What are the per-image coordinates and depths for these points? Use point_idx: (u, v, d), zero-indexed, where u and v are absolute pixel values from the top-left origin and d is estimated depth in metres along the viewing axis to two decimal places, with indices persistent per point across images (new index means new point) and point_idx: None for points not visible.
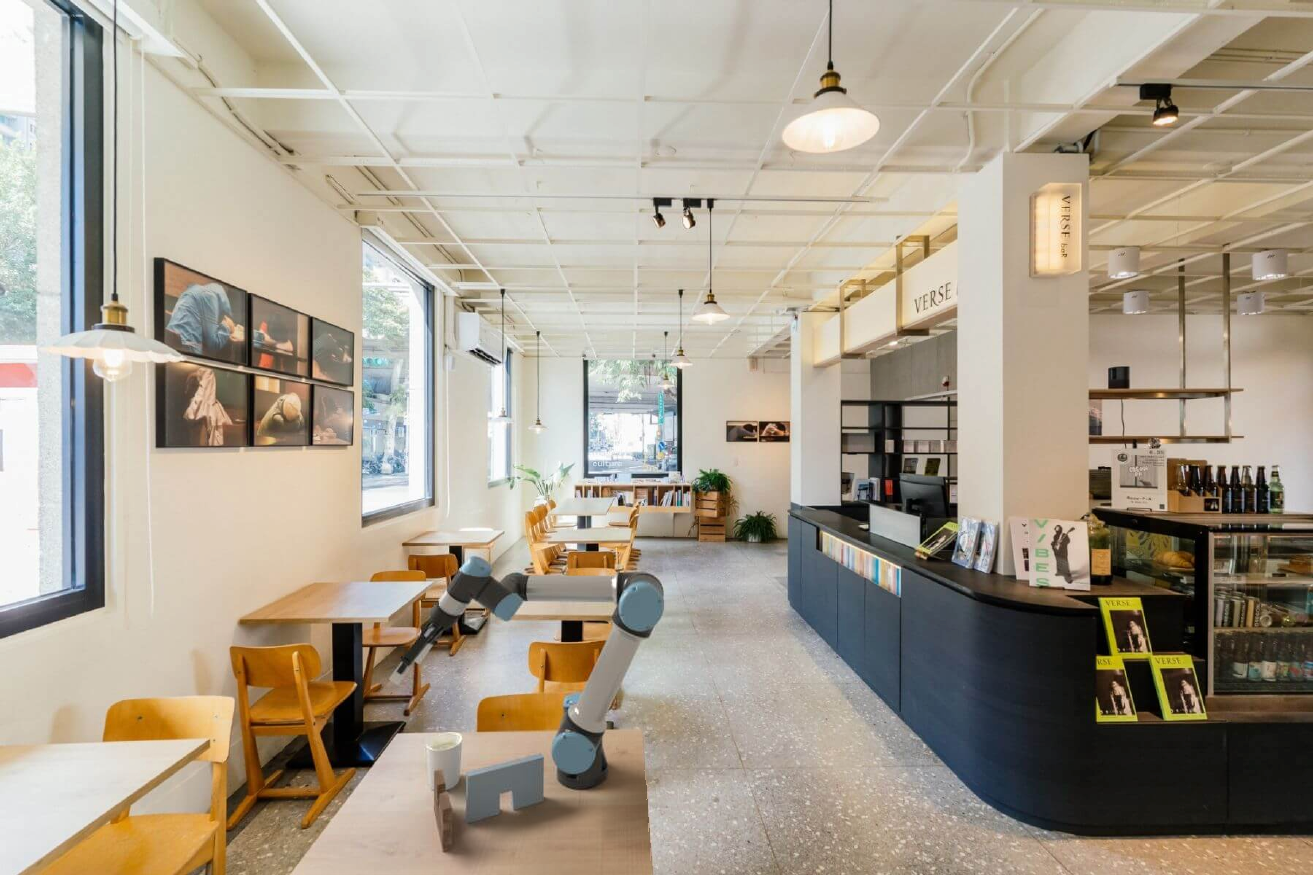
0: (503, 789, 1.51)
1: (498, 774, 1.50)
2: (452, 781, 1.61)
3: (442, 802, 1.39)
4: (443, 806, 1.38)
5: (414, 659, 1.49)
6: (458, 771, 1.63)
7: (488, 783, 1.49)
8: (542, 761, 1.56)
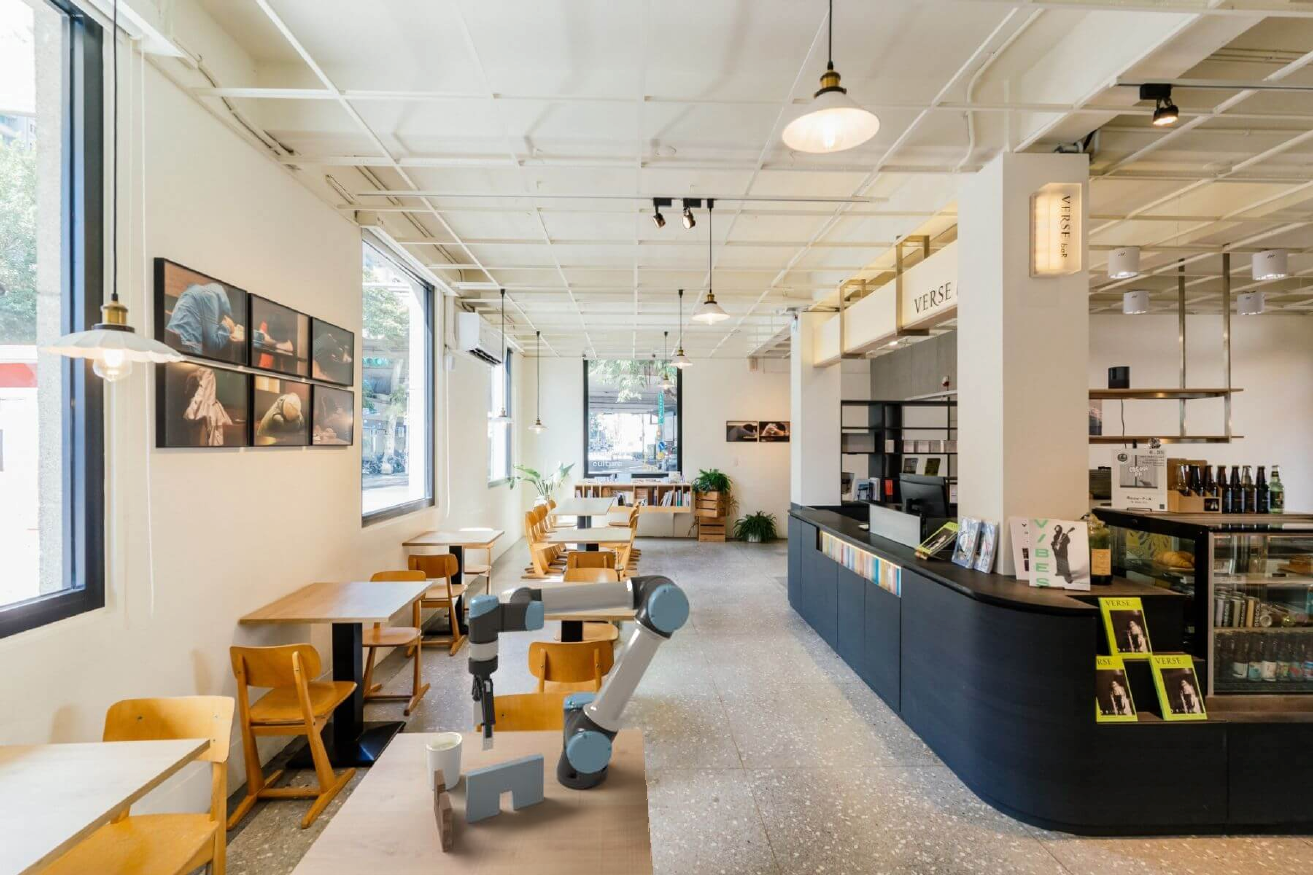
0: (503, 789, 1.51)
1: (498, 774, 1.50)
2: (452, 781, 1.61)
3: (442, 802, 1.39)
4: (443, 806, 1.38)
5: None
6: (458, 771, 1.63)
7: (488, 783, 1.49)
8: (542, 761, 1.56)
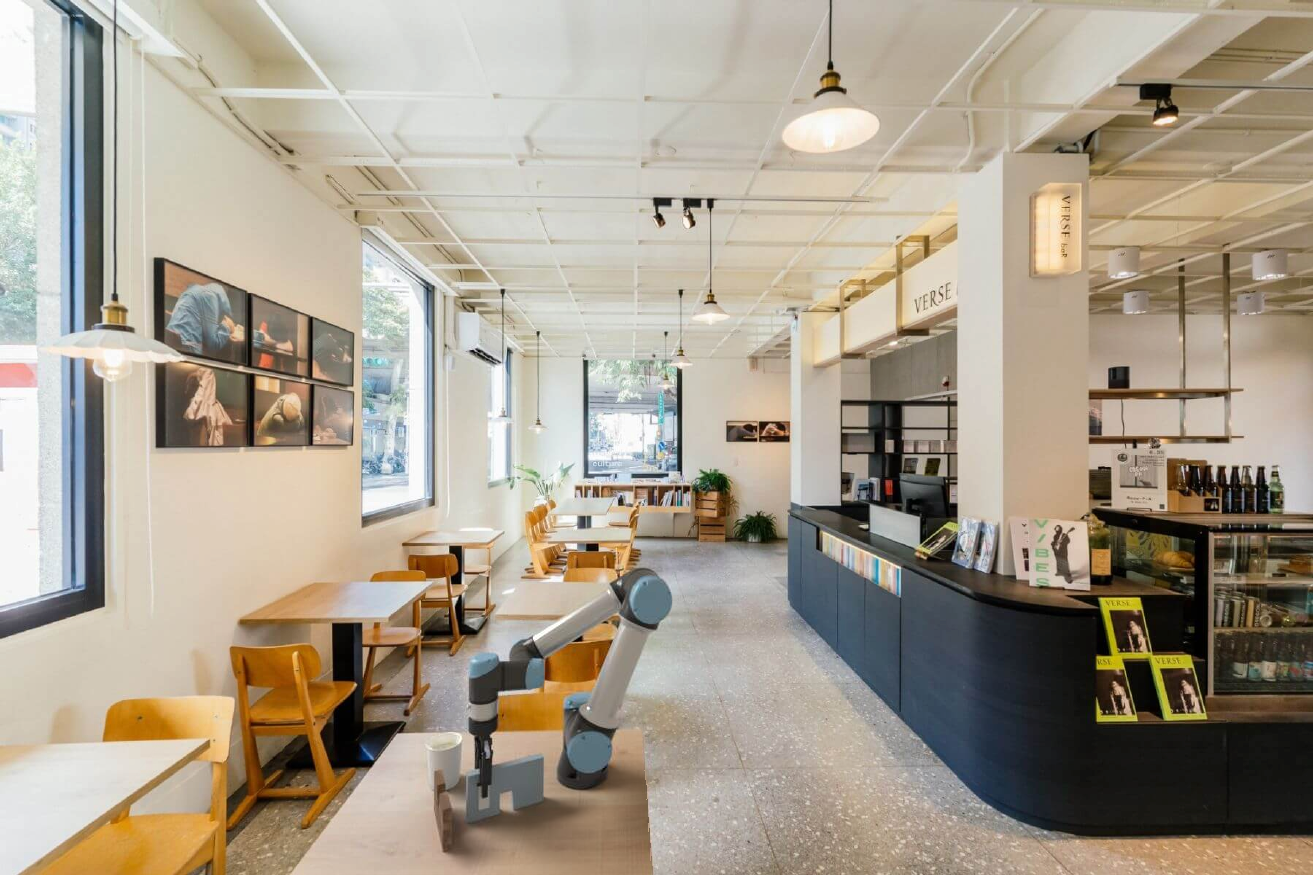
0: (503, 789, 1.51)
1: (498, 774, 1.50)
2: (452, 781, 1.61)
3: (442, 802, 1.39)
4: (443, 806, 1.38)
5: None
6: (458, 771, 1.63)
7: None
8: (542, 761, 1.56)
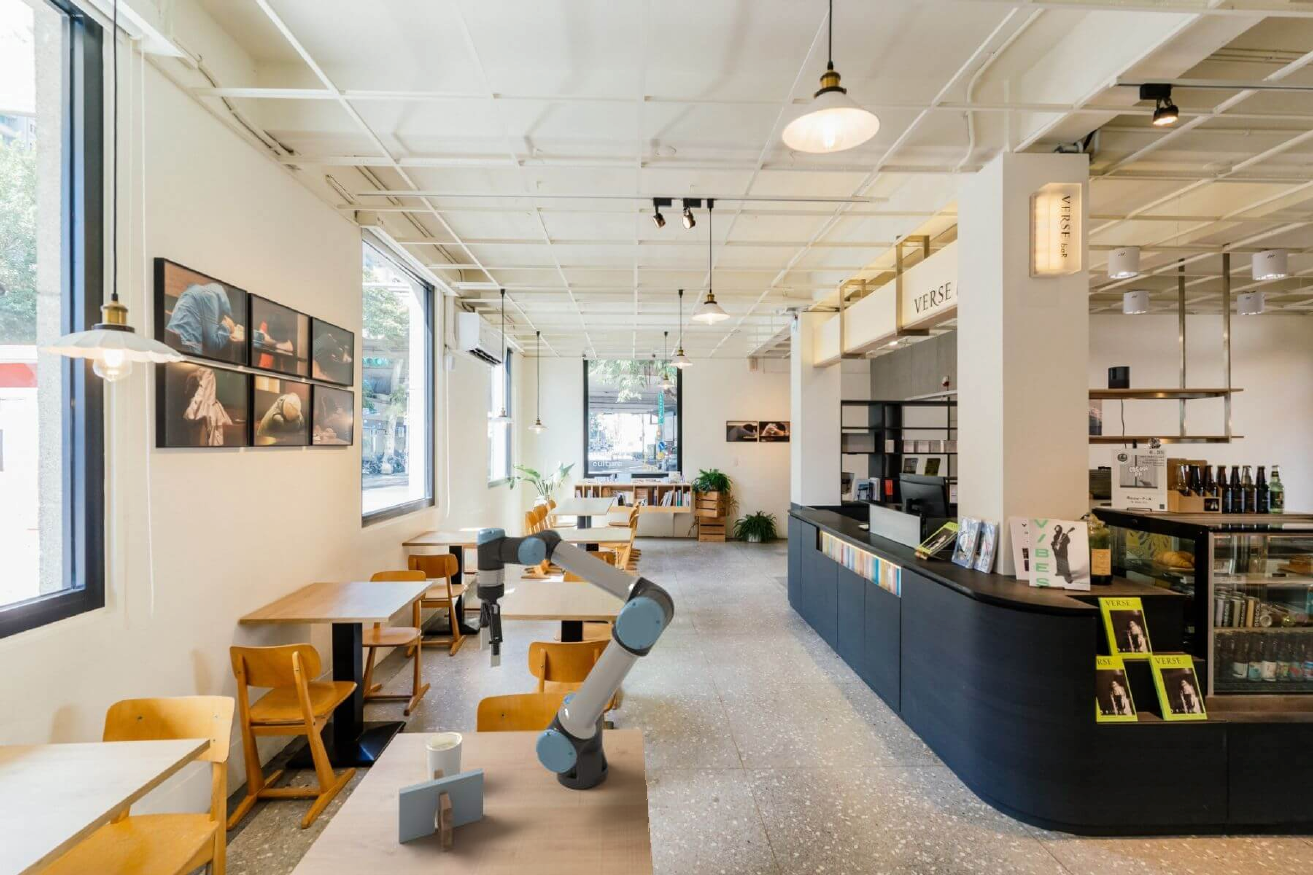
0: (438, 807, 1.43)
1: (433, 791, 1.43)
2: None
3: (442, 802, 1.39)
4: (443, 806, 1.38)
5: None
6: (458, 771, 1.63)
7: (422, 801, 1.42)
8: (482, 777, 1.48)
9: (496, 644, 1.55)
